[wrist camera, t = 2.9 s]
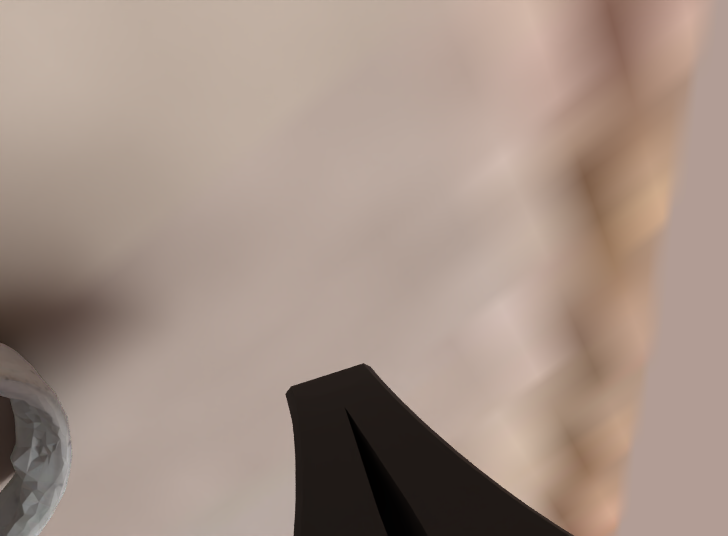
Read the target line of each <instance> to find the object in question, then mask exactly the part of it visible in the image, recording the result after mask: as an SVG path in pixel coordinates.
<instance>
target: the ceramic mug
mask: <svg viewBox="0 0 728 536" xmlns="http://www.w3.org/2000/svg"><path fill="white" fill-rule="evenodd" d="M0 396H3V397H7V398H10V402H11V406H12V410H13V413H14V419H15V432H16V444H15V446H14V449H13V451H12V454H11V456H10V459H11V462H12V465H13V467H14V470H15V471H16V472H15V474H14V476H13V478H12V479H11V480H10V481H9V483H8V484H7V485H6V486H5V487H4V489H3V490H2V491H1V492H0V536H38V535H39V534H40V532H41V531H42V529H43V528H44V527H45V525H46V524H47V522H48V521H49V519H50V518H51V516H52V515H53V513H54V511H55V509H56V507H57V505H58V503H59V502H60V500H61V498H62V496H63V494H64V492H65V489H66V485H67V481H68V477H69V473H70V467H71V460H72V446H71V437H70V431H69V425H68V419H67V415H66V413H65V411H64V409H63V407H62V405H61V403H60V401H59V399H58V397H57V395H56V393H55V392H54V391H53V390H52V389H51V388H50V387H49V385H48V384H47V383H46V382H45V381H44V380H43V379H42V377H41V376H40V375H39V374H38V373H37V371H36V370H35V369H34V367H33V366H32V365H31V364H30V363H29V362H27V361H26V360H25V359H24V358H23V357H22V356H21V355H20V354H19V353H18V352H17V351H16V350H14V349H12V348H11V347H9V346H7V345H5V344H2V343H0Z"/></svg>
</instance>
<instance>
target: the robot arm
mask: <svg viewBox="0 0 728 536" xmlns="http://www.w3.org/2000/svg"><path fill="white" fill-rule="evenodd" d="M286 398H287V402H288V406H289V410H290V414H291V418H292V423H293V432H294V444H295V460H296V504H295V523H294V536H574V535H572V534H570V533H569V532H567V531H566V530H564V529H562V528H561V527H559V526H558V525H556V524H555V523H553V522H552V521H550V520H549V519H547V518H546V517H544V516H543V515H541V514H540V513H538V512H537V511H535V510H534V509H532V508H531V507H529V506H528V505H526V504H525V503H524V502H522V501H521V500H519V499H518V498H516V497H515V496H514V495H512V494H511V493H510V492H508V491H507V490H506V489H504V488H503V487H501V486H500V485H499V484H498V483H496V482H495V481H494V480H492V479H491V478H490V477H488V476H487V475H486V474H485V473H483V472H482V471H481V470H479V469H478V468H477V467H476V466H474V465H473V464H472V463H471V462H469V461H468V460H467V459H466V458H465V457H463V456H462V455H461V454H460V453H458V452H457V451H456V450H455V449H454V448H453V447H452V446H450V445H449V444H448V443H447V442H446V441H445V440H444V439H442V438H441V437H440V436H439V435H438V434H437V433H435V432H434V431H433V430H432V429H431V428H430V427H429V426H428V425H427V424H425V423H424V422H423V421H422V420H421V419H420V418H419V417H418V416H417V415H416V414H415V413H414V412H413V411H412V410H411V409H410V408H409V407H408V406H407V405H405V404H404V403H403V402H402V401H401V400H400V399H399V398H398V397H397V396H396V394H395V393H394V392H393V391H392V390H391V389H390V388H389V387H388V386H387V385H386V384H385V383H384V382H383V381H382V380H381V378H380V377H379V376H378V375H377V374H376V373H375V372H374V370H373V369H372V368H371V367H370V366H368V365H366V364H364V363H363V364H360V365H357V366H354V367H351V368H348V369H344V370H341V371H338V372H335V373H332V374H329V375H326V376H323V377H319V378H316V379H313V380H310V381H307V382H304V383H301V384H298V385H295V386H291V387H290V389H289V390H288V391H287V393H286Z"/></svg>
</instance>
